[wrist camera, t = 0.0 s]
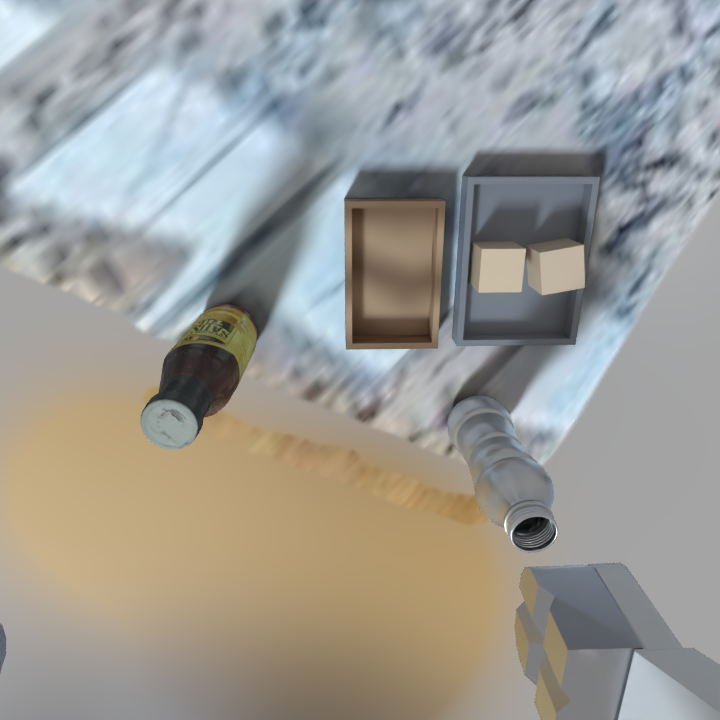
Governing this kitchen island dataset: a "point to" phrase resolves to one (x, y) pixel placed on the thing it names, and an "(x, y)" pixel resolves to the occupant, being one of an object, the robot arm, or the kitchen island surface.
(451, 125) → the kitchen island surface
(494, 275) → the cream matte cube
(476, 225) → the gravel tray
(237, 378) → the sauce bottle
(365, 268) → the brown rectangular tray
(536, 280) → the beige cube
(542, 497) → the plastic bottle
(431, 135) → the kitchen island surface
